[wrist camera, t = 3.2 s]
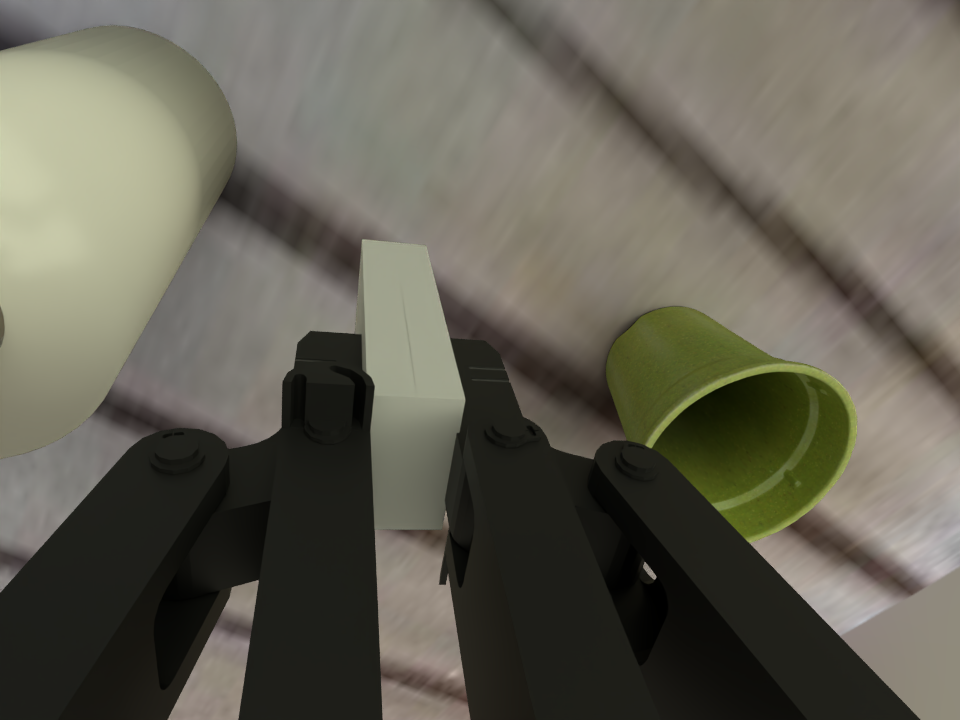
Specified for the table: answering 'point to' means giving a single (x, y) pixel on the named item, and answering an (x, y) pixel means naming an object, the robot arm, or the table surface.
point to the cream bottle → (95, 211)
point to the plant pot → (732, 417)
